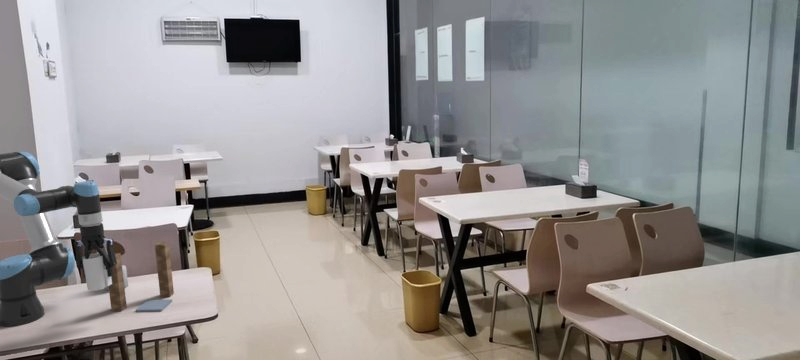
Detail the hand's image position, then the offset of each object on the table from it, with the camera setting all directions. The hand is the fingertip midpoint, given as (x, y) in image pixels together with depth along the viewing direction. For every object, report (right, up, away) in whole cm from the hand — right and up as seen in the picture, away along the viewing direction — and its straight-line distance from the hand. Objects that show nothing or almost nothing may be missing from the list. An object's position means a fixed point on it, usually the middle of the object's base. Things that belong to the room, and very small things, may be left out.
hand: (99, 285), depth 214 cm
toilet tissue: (-12, -8, +39) cm, 41 cm away
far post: (+14, -9, +26) cm, 31 cm away
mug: (0, -1, 0) cm, 1 cm away
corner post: (+1, -12, +13) cm, 17 cm away
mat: (+14, -11, +14) cm, 23 cm away
